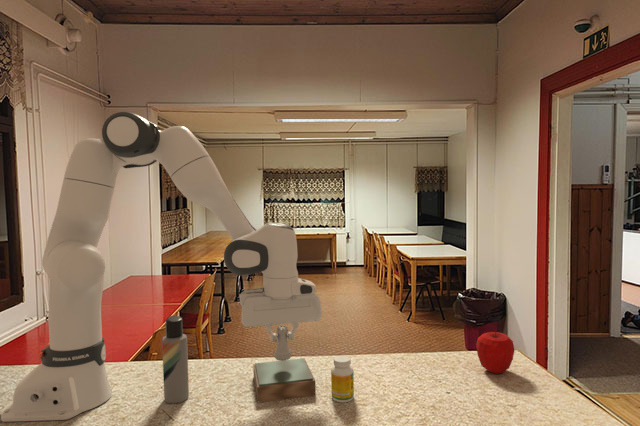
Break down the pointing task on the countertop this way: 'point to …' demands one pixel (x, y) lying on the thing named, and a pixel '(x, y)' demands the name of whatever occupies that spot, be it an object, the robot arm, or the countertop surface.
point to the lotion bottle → (175, 361)
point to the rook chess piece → (282, 344)
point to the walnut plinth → (283, 380)
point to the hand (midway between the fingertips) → (282, 340)
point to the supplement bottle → (342, 380)
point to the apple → (495, 351)
